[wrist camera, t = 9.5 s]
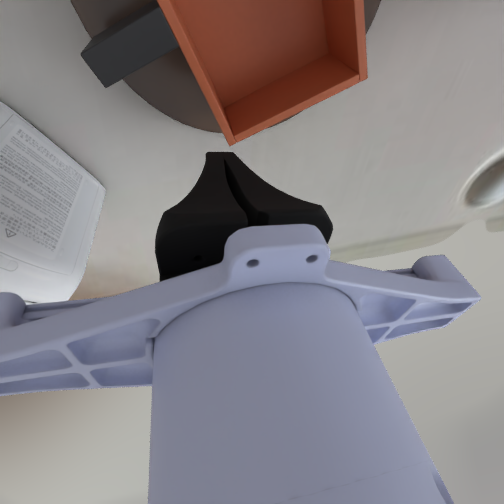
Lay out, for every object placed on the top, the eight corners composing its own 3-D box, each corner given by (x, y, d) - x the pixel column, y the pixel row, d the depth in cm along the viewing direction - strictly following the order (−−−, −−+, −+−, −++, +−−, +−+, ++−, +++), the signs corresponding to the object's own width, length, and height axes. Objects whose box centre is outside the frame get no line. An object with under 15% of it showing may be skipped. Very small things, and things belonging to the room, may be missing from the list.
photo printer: (-62, 115, 18) (-243, 252, 10) (-21, 76, 17) (-186, 194, 9) (80, 212, 26) (40, 336, 18) (115, 188, 25) (89, 309, 17)
